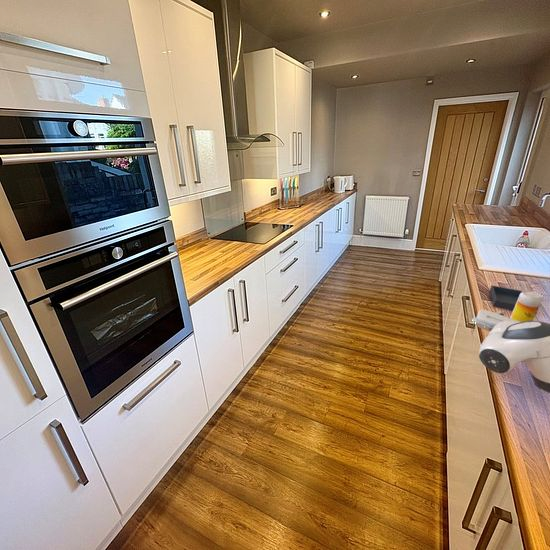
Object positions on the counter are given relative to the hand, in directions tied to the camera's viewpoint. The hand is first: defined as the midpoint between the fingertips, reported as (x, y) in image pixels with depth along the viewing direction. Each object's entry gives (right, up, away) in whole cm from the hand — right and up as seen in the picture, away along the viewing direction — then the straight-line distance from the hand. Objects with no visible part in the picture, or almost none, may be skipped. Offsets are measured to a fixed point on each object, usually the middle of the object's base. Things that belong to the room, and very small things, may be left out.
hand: (519, 319), depth 94 cm
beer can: (+9, -6, +12) cm, 16 cm away
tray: (+20, +3, +30) cm, 36 cm away
